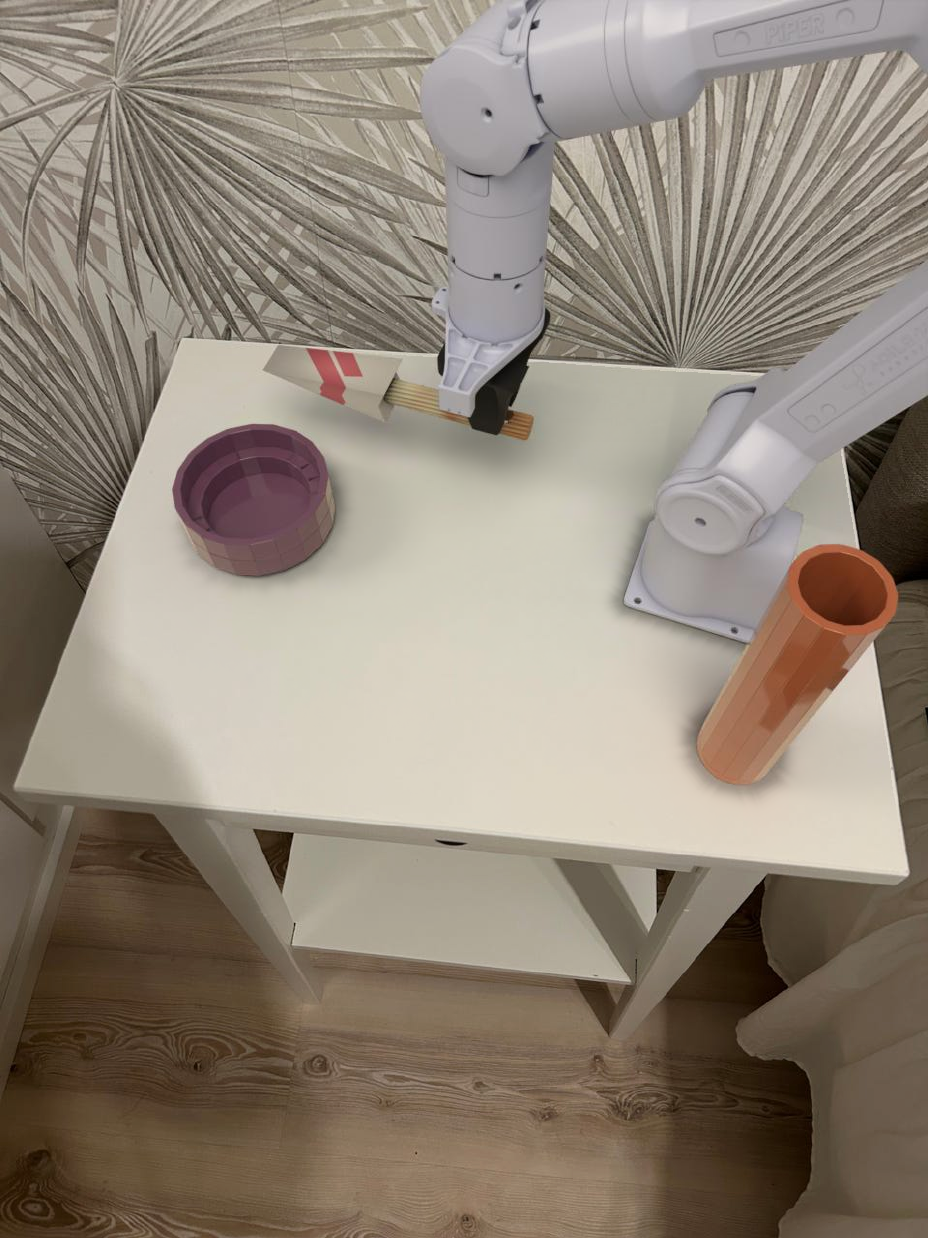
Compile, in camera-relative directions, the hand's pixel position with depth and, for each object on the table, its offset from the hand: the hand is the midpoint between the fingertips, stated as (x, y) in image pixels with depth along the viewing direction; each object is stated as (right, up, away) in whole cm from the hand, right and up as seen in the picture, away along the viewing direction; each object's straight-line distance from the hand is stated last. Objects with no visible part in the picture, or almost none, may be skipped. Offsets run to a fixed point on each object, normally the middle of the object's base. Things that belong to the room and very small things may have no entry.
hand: (493, 414), depth 63 cm
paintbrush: (-7, +1, +3) cm, 7 cm away
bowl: (-18, -7, +6) cm, 20 cm away
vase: (+16, -23, -4) cm, 28 cm away
